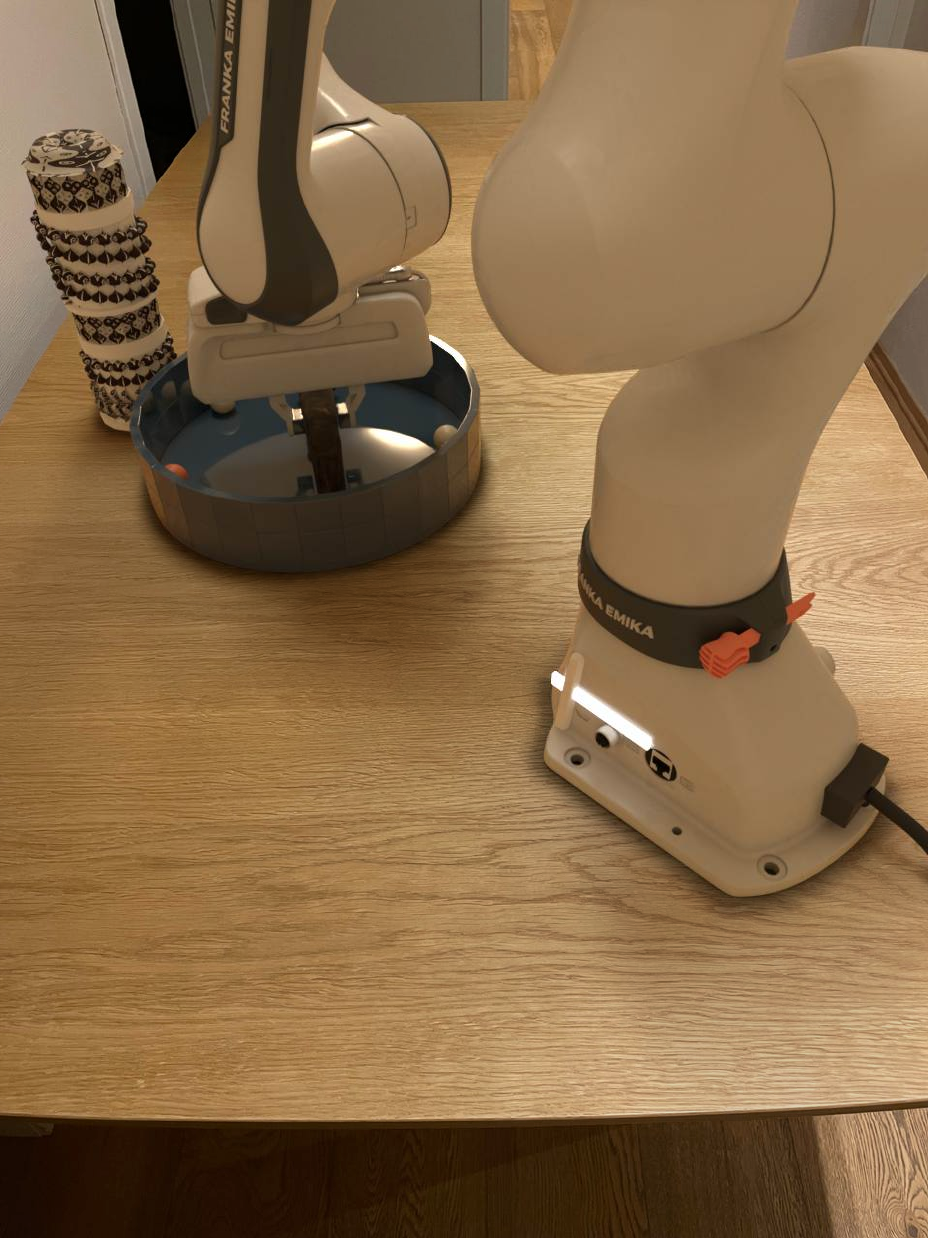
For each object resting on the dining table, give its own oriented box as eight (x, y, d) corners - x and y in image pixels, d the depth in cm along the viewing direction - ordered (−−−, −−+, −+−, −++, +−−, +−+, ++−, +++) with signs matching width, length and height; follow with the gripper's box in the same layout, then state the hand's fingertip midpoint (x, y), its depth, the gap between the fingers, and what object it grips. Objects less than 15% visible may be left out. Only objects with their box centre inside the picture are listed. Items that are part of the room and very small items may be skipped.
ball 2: (237, 390, 94) (240, 396, 92) (228, 413, 94) (231, 420, 92) (213, 381, 92) (215, 387, 90) (204, 404, 93) (206, 410, 91)
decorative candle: (80, 406, 96) (-12, 138, 79) (164, 373, 101) (94, 112, 83) (121, 445, 91) (32, 167, 74) (208, 409, 95) (143, 138, 78)
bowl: (547, 484, 85) (550, 415, 80) (240, 624, 73) (221, 553, 68) (372, 351, 103) (366, 288, 98) (102, 447, 91) (80, 380, 86)
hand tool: (296, 396, 95) (289, 353, 91) (337, 392, 95) (331, 349, 92) (302, 515, 81) (294, 470, 78) (350, 510, 82) (344, 464, 78)
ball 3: (468, 432, 86) (448, 434, 85) (461, 455, 88) (441, 458, 86) (452, 418, 87) (432, 420, 86) (445, 441, 89) (425, 444, 87)
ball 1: (179, 501, 84) (198, 481, 84) (162, 490, 82) (181, 469, 82) (165, 486, 85) (184, 466, 85) (148, 474, 83) (167, 453, 83)
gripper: (422, 246, 80) (431, 395, 90) (169, 275, 77) (206, 424, 87) (436, 279, 76) (444, 431, 85) (168, 310, 73) (207, 464, 82)
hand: (322, 428), depth 86 cm, fingers closed on hand tool, 3 cm apart
